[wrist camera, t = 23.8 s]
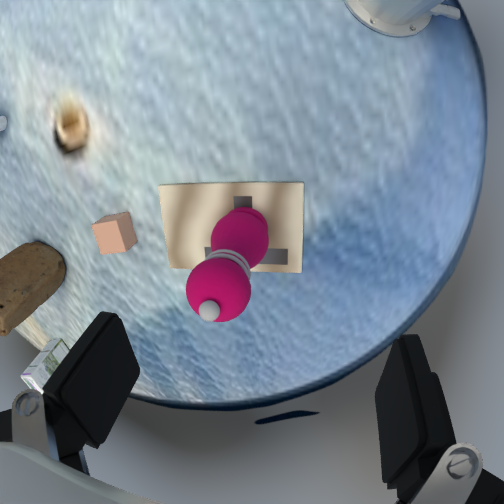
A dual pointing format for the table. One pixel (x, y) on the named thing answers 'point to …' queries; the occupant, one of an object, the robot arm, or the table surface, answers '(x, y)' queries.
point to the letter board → (219, 205)
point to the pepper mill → (228, 266)
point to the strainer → (3, 123)
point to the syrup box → (45, 364)
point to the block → (27, 282)
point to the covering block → (114, 233)
